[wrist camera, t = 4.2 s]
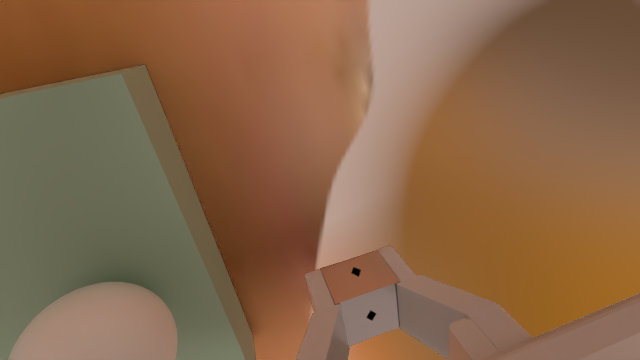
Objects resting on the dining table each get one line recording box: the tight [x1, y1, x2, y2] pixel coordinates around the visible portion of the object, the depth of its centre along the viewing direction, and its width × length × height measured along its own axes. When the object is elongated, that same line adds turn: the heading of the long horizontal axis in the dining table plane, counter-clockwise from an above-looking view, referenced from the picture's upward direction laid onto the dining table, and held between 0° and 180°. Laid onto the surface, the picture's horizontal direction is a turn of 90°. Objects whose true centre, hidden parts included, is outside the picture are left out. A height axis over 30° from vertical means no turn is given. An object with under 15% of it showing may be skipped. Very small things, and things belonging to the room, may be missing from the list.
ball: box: [8, 282, 178, 360], centre depth 9 cm, size 4×4×4 cm
